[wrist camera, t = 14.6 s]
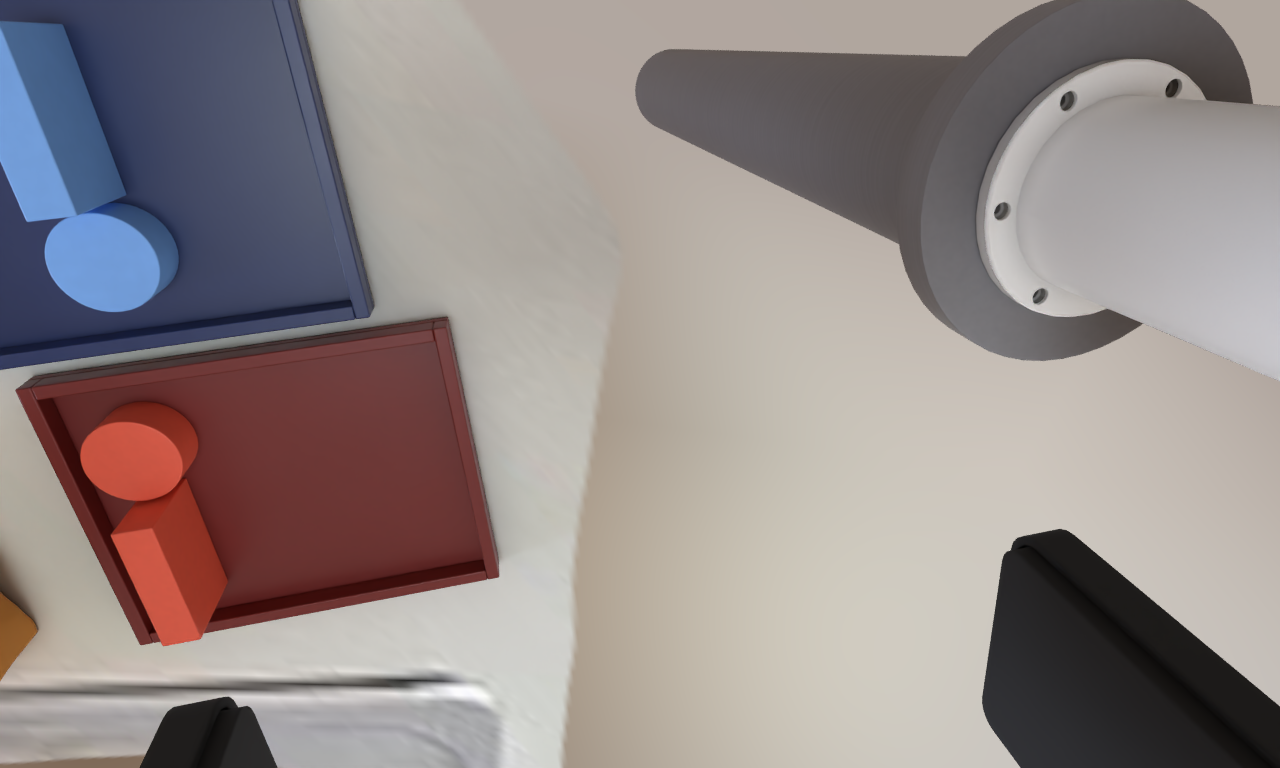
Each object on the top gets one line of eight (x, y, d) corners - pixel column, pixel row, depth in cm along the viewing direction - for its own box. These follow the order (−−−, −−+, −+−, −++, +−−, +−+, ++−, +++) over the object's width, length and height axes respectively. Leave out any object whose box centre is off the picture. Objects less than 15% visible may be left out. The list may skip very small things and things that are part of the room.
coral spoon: (252, 577, 37) (227, 634, 33) (170, 592, 36) (135, 652, 33) (181, 394, 33) (144, 437, 29) (87, 408, 32) (37, 454, 29)
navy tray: (284, -51, 27) (274, -56, 26) (374, 307, 33) (370, 317, 32) (-256, -9, 25) (-295, -12, 24) (-57, 367, 31) (-80, 381, 30)
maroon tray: (447, 316, 34) (446, 327, 33) (499, 561, 40) (499, 577, 38) (32, 376, 32) (14, 389, 30) (151, 626, 37) (139, 646, 36)
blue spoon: (-21, 31, 26) (-101, 29, 23) (96, 20, 27) (36, 17, 23) (93, 303, 30) (41, 337, 27) (192, 289, 31) (154, 322, 27)
